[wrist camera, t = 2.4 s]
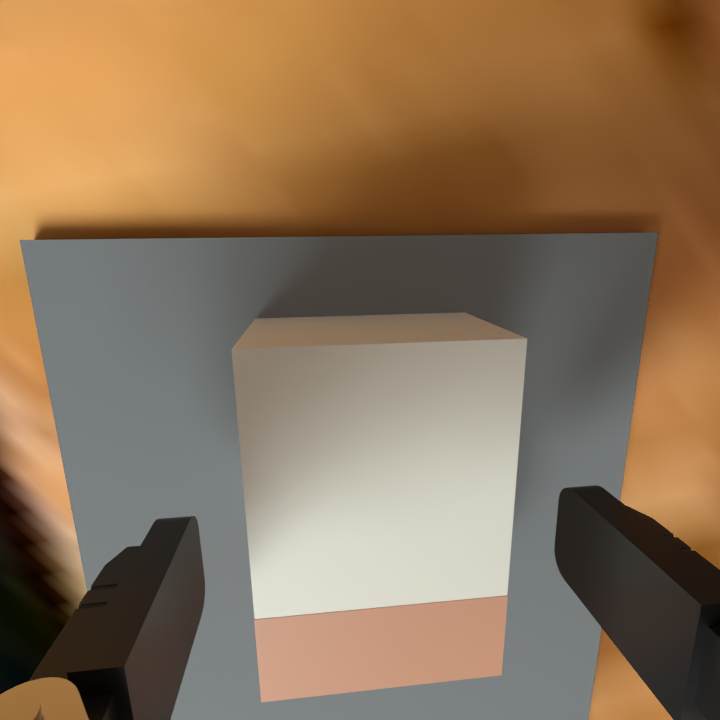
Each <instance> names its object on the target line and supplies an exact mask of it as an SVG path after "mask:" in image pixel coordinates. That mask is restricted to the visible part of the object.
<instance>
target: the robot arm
mask: <svg viewBox="0 0 720 720" xmlns="http://www.w3.org/2000/svg"><path fill="white" fill-rule="evenodd" d="M554 552H555V559H556V563H557V567H558V569H559V572H560V574H561V575H562V577H563V579H564V580H565V581H566V583H567V584H568V585H569V586H570V588H571V589H572V590H573V592H574V593H575V594H576V595H577V597H578V598H579V599H580V601H581V602H582V603H583V604H584V606H585V607H586V608H587V609H588V611H589V612H590V613H591V615H592V616H593V617H594V618H595V620H596V621H597V622H598V624H599V625H600V626H601V627H602V629H603V630H604V631H605V632H606V634H607V635H608V636H609V638H610V639H611V640H612V641H613V643H614V644H615V645H616V646H617V648H618V649H619V650H620V652H621V653H622V654H623V655H624V657H625V658H626V659H627V661H628V662H629V663H630V664H631V666H632V667H633V668H634V669H635V671H636V672H637V673H638V675H639V676H640V677H641V678H642V680H643V681H644V682H645V684H646V685H647V686H648V687H649V689H650V690H651V691H652V692H653V694H654V695H655V696H656V698H657V699H658V700H659V701H660V703H661V704H662V705H663V706H664V708H665V709H666V710H667V712H668V713H669V714H670V715H671V717H672V718H673V719H674V720H720V570H719V569H718V568H716V567H715V566H714V565H713V564H711V563H710V562H709V561H707V560H706V559H705V558H703V557H702V556H701V555H700V554H698V553H697V552H696V551H691V549H690V547H689V546H688V545H687V544H685V543H684V542H683V541H681V540H680V539H679V538H677V537H675V538H674V536H673V534H672V533H671V532H670V531H668V530H667V529H666V528H664V527H663V526H662V525H661V524H659V523H658V522H657V521H655V520H654V519H653V518H651V517H649V516H647V515H645V514H643V513H640V512H638V511H636V510H634V509H632V508H630V507H628V506H625V505H624V504H623V503H622V502H620V501H619V500H618V499H617V498H615V497H614V496H613V495H611V494H610V493H609V492H608V491H606V490H605V489H604V488H602V487H601V486H598V485H593V486H580V487H567V488H564V489H562V491H561V492H560V495H559V502H558V513H557V524H556V535H555V546H554ZM204 599H205V577H204V568H203V560H202V551H201V543H200V534H199V526H198V521H197V519H196V517H195V516H187V517H174V518H161V519H156V520H155V522H154V523H153V525H152V527H151V528H150V530H149V532H148V533H147V535H146V537H145V539H144V540H143V542H142V544H141V545H140V546H131V547H126V548H125V549H124V550H123V551H122V552H120V553H119V554H118V555H117V556H115V557H114V558H113V559H112V560H111V561H109V562H108V563H107V564H106V565H105V566H104V567H103V569H102V570H101V572H100V573H99V575H98V576H97V578H96V579H95V581H94V582H93V584H92V585H91V590H90V591H87V593H86V595H85V596H84V598H83V599H82V601H81V602H80V604H79V608H78V609H76V610H75V611H74V613H73V614H72V616H71V617H70V619H69V620H68V622H67V623H66V625H65V626H64V628H63V629H62V631H61V632H60V634H59V636H58V637H57V639H56V640H55V642H54V643H53V645H52V646H51V648H50V649H49V651H48V652H47V654H46V655H45V657H44V658H43V660H42V661H41V663H40V664H39V666H38V667H37V669H36V670H35V672H34V674H33V675H32V677H31V678H30V680H29V681H28V682H26V683H23V684H21V685H18V686H16V687H14V688H12V689H10V690H8V691H6V692H4V693H3V694H1V695H0V720H171V716H172V713H173V710H174V706H175V703H176V700H177V696H178V693H179V690H180V686H181V683H182V679H183V676H184V673H185V669H186V666H187V663H188V659H189V656H190V653H191V649H192V646H193V643H194V639H195V636H196V633H197V629H198V626H199V623H200V619H201V616H202V612H203V607H204Z"/></svg>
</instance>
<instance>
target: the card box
mask: <svg viewBox="0 0 720 720" xmlns="http://www.w3.org/2000/svg"><path fill="white" fill-rule="evenodd" d="M526 349H527V338H525V337H522V336H520V335H518V334H515V333H513V332H511V331H508V330H506V329H503V328H501V327H499V326H496V325H494V324H491V323H489V322H487V321H484V320H482V319H479V318H477V317H475V316H472V315H470V314H468V313H465V312H459V313H425V314H391V315H358V316H324V317H290V318H256V319H255V320H254V321H253V322H252V324H251V325H250V326H249V327H248V329H247V330H246V331H245V332H244V334H243V335H242V336H241V338H240V339H239V340H238V341H237V343H236V344H235V345H234V347H233V348H232V349H231V350H232V362H233V374H234V385H235V397H236V409H237V420H238V432H239V444H240V455H241V467H242V479H243V490H244V502H245V514H246V525H247V537H248V549H249V560H250V572H251V584H252V595H253V607H254V625H255V637H256V648H257V660H258V672H259V683H260V695H261V702H269V701H278V700H287V699H296V698H305V697H314V696H323V695H331V694H340V693H349V692H358V691H367V690H376V689H385V688H393V687H402V686H411V685H420V684H429V683H438V682H447V681H455V680H464V679H473V678H482V677H491V676H500V675H502V665H503V652H504V639H505V626H506V614H507V601H508V595H507V593H508V580H509V567H510V554H511V541H512V529H513V516H514V503H515V490H516V477H517V465H518V452H519V439H520V426H521V413H522V401H523V388H524V375H525V362H526Z"/></svg>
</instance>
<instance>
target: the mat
mask: <svg viewBox="0 0 720 720" xmlns="http://www.w3.org/2000/svg"><path fill="white" fill-rule="evenodd" d="M657 237H658V232H652V233H568V234H485V235H401V236H317V237H234V238H150V239H67V240H20V243H21V249H22V254H23V259H24V264H25V269H26V275H27V280H28V285H29V290H30V295H31V301H32V306H33V311H34V316H35V321H36V326H37V332H38V337H39V342H40V347H41V352H42V358H43V363H44V368H45V373H46V378H47V384H48V389H49V394H50V399H51V404H52V410H53V415H54V420H55V425H56V430H57V435H58V441H59V446H60V451H61V456H62V461H63V467H64V472H65V477H66V482H67V487H68V493H69V498H70V503H71V508H72V513H73V519H74V524H75V529H76V534H77V539H78V544H79V550H80V555H81V560H82V565H83V570H84V576H85V581H86V586H87V591H90V590H91V585H92V584H93V582H94V581H95V579H96V578H97V576H98V575H99V573H100V572H101V570H102V569H103V567H104V566H105V565H106V564H107V563H108V562H109V561H111V560H112V559H113V558H114V557H115V556H117V555H118V554H119V553H120V552H122V551H123V550H124V549H125V548H126V547H131V546H140V545H141V544H142V542H143V540H144V539H145V537H146V535H147V533H148V532H149V530H150V528H151V527H152V525H153V523H154V522H155V520H156V519H161V518H174V517H187V516H195V517H196V519H197V521H198V526H199V534H200V543H201V551H202V560H203V568H204V577H205V599H204V607H203V612H202V616H201V619H200V623H199V626H198V629H197V633H196V636H195V639H194V643H193V646H192V649H191V653H190V656H189V659H188V663H187V666H186V669H185V673H184V676H183V679H182V683H181V686H180V690H179V693H178V696H177V700H176V703H175V706H174V710H173V713H172V716H171V720H588V719H589V712H590V705H591V698H592V691H593V684H594V677H595V670H596V663H597V656H598V649H599V642H600V635H601V628H602V627H601V626H600V625H599V624H598V622H597V621H596V620H595V618H594V617H593V616H592V615H591V613H590V612H589V611H588V609H587V608H586V607H585V606H584V604H583V603H582V602H581V601H580V599H579V598H578V597H577V595H576V594H575V593H574V592H573V590H572V589H571V588H570V586H569V585H568V584H567V583H566V581H565V580H564V579H563V577H562V575H561V574H560V572H559V569H558V567H557V563H556V559H555V552H554V546H555V535H556V524H557V513H558V502H559V495H560V492H561V491H562V489H564V488H567V487H580V486H593V485H598V486H601V487H602V488H604V489H605V490H606V491H608V492H609V493H610V494H611V495H613V496H614V497H615V498H617V499H618V500H619V501H620V496H621V489H622V482H623V475H624V468H625V461H626V454H627V447H628V440H629V433H630V426H631V419H632V412H633V405H634V398H635V391H636V384H637V377H638V370H639V363H640V356H641V349H642V342H643V335H644V328H645V321H646V314H647V307H648V300H649V293H650V286H651V279H652V272H653V265H654V258H655V251H656V244H657ZM459 312H465V313H468V314H470V315H472V316H475V317H477V318H479V319H482V320H484V321H487V322H489V323H491V324H494V325H496V326H499V327H501V328H503V329H506V330H508V331H511V332H513V333H515V334H518V335H520V336H522V337H525V338H527V349H526V362H525V375H524V388H523V401H522V413H521V426H520V439H519V452H518V465H517V477H516V490H515V503H514V516H513V529H512V541H511V554H510V567H509V580H508V593H507V595H508V601H507V614H506V626H505V639H504V652H503V665H502V675H500V676H491V677H482V678H473V679H464V680H455V681H447V682H438V683H429V684H420V685H411V686H402V687H393V688H385V689H376V690H367V691H358V692H349V693H340V694H331V695H323V696H314V697H305V698H296V699H287V700H278V701H269V702H261V695H260V683H259V672H258V660H257V648H256V637H255V625H254V607H253V595H252V584H251V572H250V560H249V549H248V537H247V525H246V514H245V502H244V490H243V479H242V467H241V455H240V444H239V432H238V420H237V409H236V397H235V385H234V374H233V362H232V350H231V349H232V348H233V347H234V345H235V344H236V343H237V341H238V340H239V339H240V338H241V336H242V335H243V334H244V332H245V331H246V330H247V329H248V327H249V326H250V325H251V324H252V322H253V321H254V320H255V319H256V318H290V317H324V316H358V315H391V314H425V313H459Z"/></svg>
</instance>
